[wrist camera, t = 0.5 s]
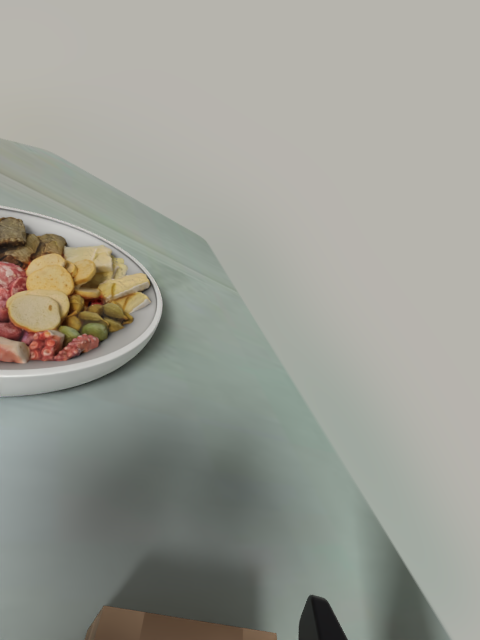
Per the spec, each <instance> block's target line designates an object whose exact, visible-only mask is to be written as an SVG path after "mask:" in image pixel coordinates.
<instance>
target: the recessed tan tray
mask: <svg viewBox="0 0 480 640" xmlns="http://www.w3.org/2000/svg"><path fill="white" fill-rule="evenodd" d="M85 640H277V635H276V633H271V632H265V631H259V630H253V629H247V628H240V627H234V626H228V625H222V624H215V623H209V622H203V621H197V620H190V619H184V618H178V617H172V616H165V615H159V614H153V613H147V612H141V611H134V610H128V609H122V608H116V607H109V606H103V608H102V609H101V611H100V612H99V614H98V615H97V617H96V618H95V620H94V621H93V623H92V624H91V626H90V627H89V629H88V631H87V634H86V637H85Z"/></svg>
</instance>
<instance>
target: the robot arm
mask: <svg viewBox="0 0 480 640" xmlns="http://www.w3.org/2000/svg"><path fill="white" fill-rule="evenodd" d="M299 640H348V639H347V637H346V635H345V633H344V632H343V630H342V628H341V626H340V624H339V622H338V620H337V618H336V616H335V614H334V612H333V610H332V608H331V606H330V604H329V603H328V601H327V600H326V599H324V598H322V597H318V596H315V595H310V596H309V597H308V599H307V601H306V604H305V607H304V610H303V612H302V615H301V618H300V622H299Z"/></svg>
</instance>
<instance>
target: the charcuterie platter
mask: <svg viewBox="0 0 480 640" xmlns="http://www.w3.org/2000/svg"><path fill="white" fill-rule="evenodd" d="M162 306H163V303H162V297H161V293H160V290H159V287H158V285H157V283H156V282H155V280H154V278H153V277H152V276H151V274H150V273H149V272H148V271H147V269H146V268H145V267H144V266H143V265H142V264H141V263H140V262H139V261H137V260H136V259H135V258H134V257H133V256H131V255H130V254H129V253H127V252H126V251H125V250H123V249H122V248H120V247H119V246H117V245H115V244H114V243H112V242H110V241H108V240H107V239H105V238H103V237H101V236H99V235H97V234H95V233H92V232H90V231H88V230H86V229H83V228H81V227H78V226H76V225H73V224H70V223H68V222H65V221H62V220H59V219H55V218H52V217H49V216H45V215H42V214H38V213H34V212H30V211H25V210H21V209H16V208H11V207H5V206H0V397H10V396H24V395H34V394H41V393H47V392H53V391H58V390H62V389H67V388H71V387H74V386H78V385H81V384H84V383H87V382H90V381H92V380H95V379H97V378H100V377H102V376H104V375H106V374H108V373H110V372H112V371H114V370H116V369H118V368H119V367H121V366H122V365H124V364H125V363H127V362H128V361H129V360H131V359H132V358H133V357H134V356H136V355H137V354H138V353H139V352H140V351H141V350H142V349H143V348H144V347H145V345H146V344H147V343H148V342H149V340H150V339H151V337H152V336H153V334H154V332H155V330H156V328H157V326H158V323H159V321H160V318H161V314H162Z"/></svg>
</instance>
